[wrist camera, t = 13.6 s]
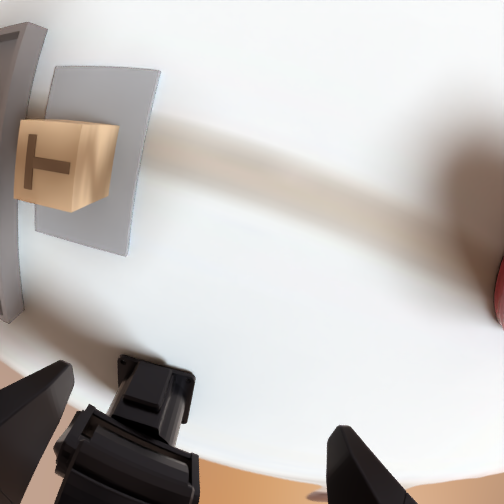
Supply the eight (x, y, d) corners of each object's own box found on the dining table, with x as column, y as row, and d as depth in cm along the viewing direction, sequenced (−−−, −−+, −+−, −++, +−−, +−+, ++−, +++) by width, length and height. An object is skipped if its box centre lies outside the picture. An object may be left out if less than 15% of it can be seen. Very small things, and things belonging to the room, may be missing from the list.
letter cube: (108, 195, 18) (70, 213, 14) (54, 184, 18) (12, 198, 14) (119, 125, 17) (81, 124, 12) (63, 119, 16) (19, 119, 12)
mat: (127, 254, 20) (125, 256, 20) (38, 229, 19) (35, 230, 19) (161, 72, 16) (158, 70, 16) (59, 67, 15) (56, 66, 15)
